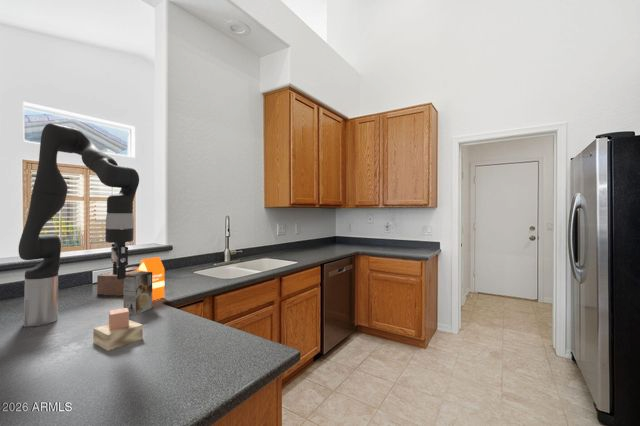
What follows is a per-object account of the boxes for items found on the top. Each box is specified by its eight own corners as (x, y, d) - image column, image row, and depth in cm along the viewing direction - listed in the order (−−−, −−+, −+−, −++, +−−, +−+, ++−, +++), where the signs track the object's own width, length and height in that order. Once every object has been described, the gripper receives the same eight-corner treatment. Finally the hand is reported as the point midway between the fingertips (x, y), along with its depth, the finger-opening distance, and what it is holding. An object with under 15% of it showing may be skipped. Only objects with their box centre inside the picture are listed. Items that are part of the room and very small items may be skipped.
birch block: (108, 351, 88) (108, 335, 88) (93, 343, 93) (93, 328, 93) (142, 339, 97) (142, 324, 97) (127, 333, 102) (127, 318, 102)
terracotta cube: (110, 330, 91) (110, 314, 91) (108, 325, 95) (108, 310, 95) (128, 326, 95) (129, 311, 95) (126, 322, 98) (127, 307, 99)
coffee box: (140, 306, 129) (140, 270, 129) (153, 307, 128) (153, 271, 128) (122, 313, 120) (123, 275, 120) (135, 315, 119) (136, 275, 119)
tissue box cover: (133, 283, 173) (133, 266, 173) (156, 283, 172) (156, 266, 172) (97, 295, 147) (97, 275, 147) (124, 296, 146) (124, 276, 146)
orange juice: (164, 298, 143) (164, 257, 143) (147, 303, 135) (147, 259, 135) (153, 296, 146) (154, 256, 146) (136, 300, 138) (136, 258, 138)
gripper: (102, 226, 98) (102, 274, 98) (108, 228, 87) (108, 282, 87) (129, 226, 103) (128, 271, 103) (137, 228, 92) (137, 278, 92)
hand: (119, 276), depth 95 cm, fingers open, 8 cm apart
